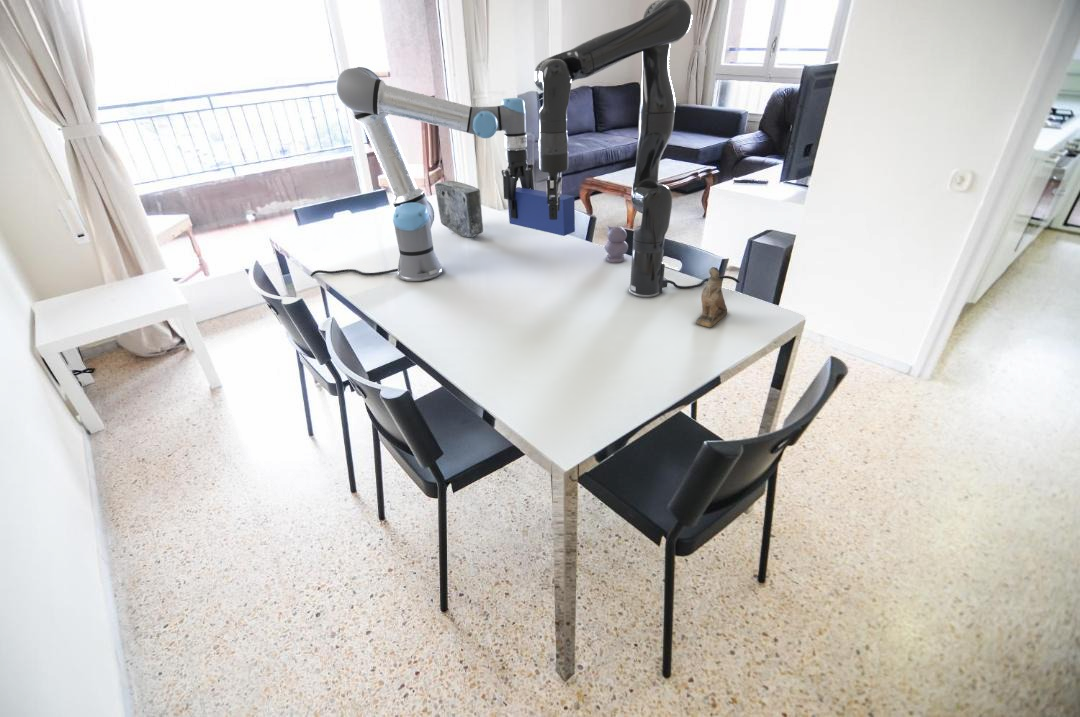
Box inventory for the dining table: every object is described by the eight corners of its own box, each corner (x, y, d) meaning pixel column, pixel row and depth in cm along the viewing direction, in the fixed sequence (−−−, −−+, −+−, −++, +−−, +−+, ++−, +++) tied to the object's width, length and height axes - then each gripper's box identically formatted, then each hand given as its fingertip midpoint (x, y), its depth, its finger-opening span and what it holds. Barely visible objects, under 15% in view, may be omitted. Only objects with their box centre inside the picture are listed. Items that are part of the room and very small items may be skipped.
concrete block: (488, 238, 207) (483, 189, 196) (469, 243, 203) (464, 193, 192) (458, 224, 226) (452, 179, 215) (440, 228, 221) (434, 182, 211)
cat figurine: (631, 259, 181) (633, 226, 175) (619, 265, 176) (620, 231, 170) (612, 254, 186) (614, 222, 180) (599, 259, 181) (600, 227, 175)
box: (509, 223, 185) (506, 190, 178) (520, 219, 188) (518, 187, 182) (564, 236, 169) (563, 200, 162) (574, 231, 172) (574, 196, 166)
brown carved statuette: (709, 335, 136) (713, 280, 124) (691, 329, 139) (693, 274, 128) (730, 313, 142) (736, 258, 130) (712, 307, 145) (716, 253, 133)
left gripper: (504, 153, 163) (509, 223, 175) (542, 145, 174) (545, 211, 187) (488, 152, 167) (495, 220, 180) (527, 143, 179) (530, 208, 191)
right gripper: (566, 155, 119) (567, 222, 128) (569, 146, 131) (570, 207, 140) (535, 156, 120) (538, 222, 129) (541, 146, 132) (543, 208, 141)
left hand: (520, 215), depth 183 cm, fingers closed on box, 6 cm apart
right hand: (554, 214), depth 134 cm, fingers open, 8 cm apart
